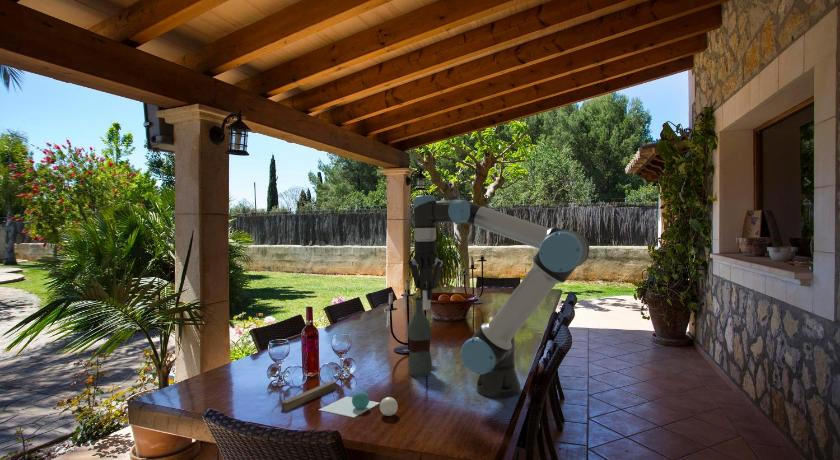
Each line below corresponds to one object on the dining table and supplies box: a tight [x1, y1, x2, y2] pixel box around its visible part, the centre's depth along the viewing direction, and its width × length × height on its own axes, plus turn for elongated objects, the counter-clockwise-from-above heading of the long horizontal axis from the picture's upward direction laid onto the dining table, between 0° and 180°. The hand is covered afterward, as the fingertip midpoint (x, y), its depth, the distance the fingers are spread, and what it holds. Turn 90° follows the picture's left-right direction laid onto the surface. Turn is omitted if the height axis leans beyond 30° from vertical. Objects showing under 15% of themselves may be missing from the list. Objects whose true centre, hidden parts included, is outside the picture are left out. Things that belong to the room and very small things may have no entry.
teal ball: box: [351, 390, 370, 409], centre depth 162 cm, size 6×6×6 cm
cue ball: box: [379, 396, 399, 417], centre depth 156 cm, size 6×6×6 cm
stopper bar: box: [281, 381, 337, 412], centre depth 173 cm, size 2×24×2 cm, turn 150°
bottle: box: [407, 296, 433, 377], centre depth 200 cm, size 9×9×30 cm
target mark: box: [318, 395, 381, 418], centre depth 164 cm, size 14×14×1 cm
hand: (426, 309), depth 175 cm, fingers closed
